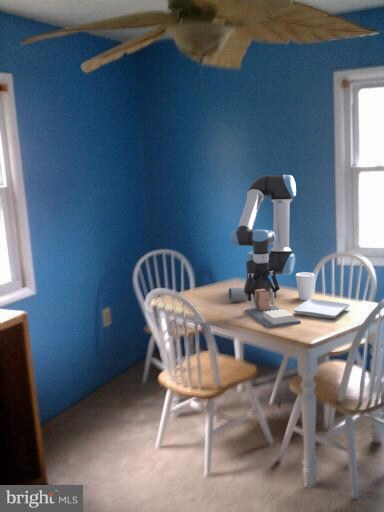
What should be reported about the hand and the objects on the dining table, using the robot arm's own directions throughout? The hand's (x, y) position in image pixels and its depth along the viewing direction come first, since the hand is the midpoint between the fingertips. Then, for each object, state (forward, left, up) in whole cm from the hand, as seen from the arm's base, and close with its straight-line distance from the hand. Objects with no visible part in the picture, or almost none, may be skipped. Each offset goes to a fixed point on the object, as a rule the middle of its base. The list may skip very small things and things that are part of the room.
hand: (262, 305), depth 261 cm
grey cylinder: (-24, -5, -3) cm, 24 cm away
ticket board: (+10, 0, -3) cm, 11 cm away
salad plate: (+14, +25, -3) cm, 29 cm away
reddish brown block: (0, 0, -1) cm, 1 cm away
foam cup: (-12, +30, -3) cm, 33 cm away
